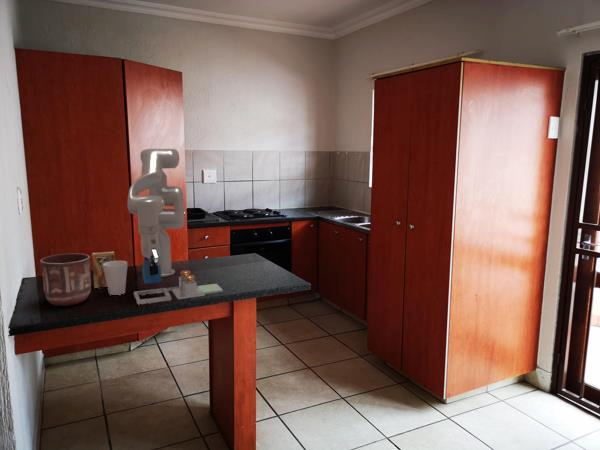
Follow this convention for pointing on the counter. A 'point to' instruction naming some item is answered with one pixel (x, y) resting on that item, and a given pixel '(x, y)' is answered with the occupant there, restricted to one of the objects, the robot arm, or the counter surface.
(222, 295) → the counter surface
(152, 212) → the robot arm
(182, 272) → the plunger
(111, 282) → the foam cup
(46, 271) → the pottery
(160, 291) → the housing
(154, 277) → the perfume bottle
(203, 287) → the mat
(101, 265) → the candy box
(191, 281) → the plunger
